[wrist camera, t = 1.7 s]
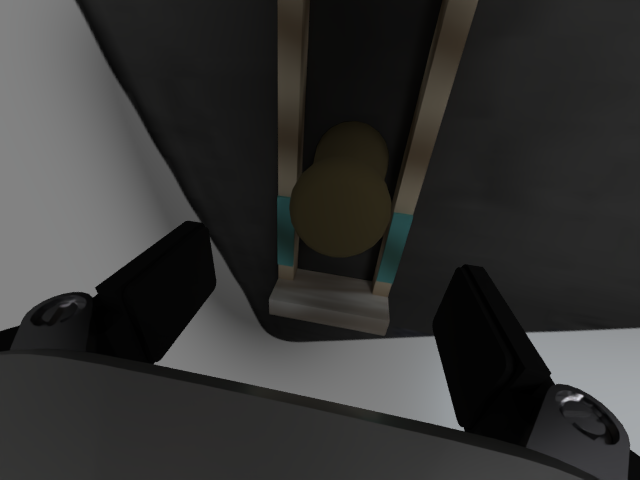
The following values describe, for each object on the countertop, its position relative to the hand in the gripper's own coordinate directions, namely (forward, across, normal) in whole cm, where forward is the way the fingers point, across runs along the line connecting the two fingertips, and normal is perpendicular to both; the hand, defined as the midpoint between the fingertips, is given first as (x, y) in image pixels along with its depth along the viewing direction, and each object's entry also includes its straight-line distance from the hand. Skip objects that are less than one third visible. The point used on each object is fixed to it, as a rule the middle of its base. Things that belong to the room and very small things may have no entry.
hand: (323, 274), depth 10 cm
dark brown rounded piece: (+14, 0, -1) cm, 14 cm away
